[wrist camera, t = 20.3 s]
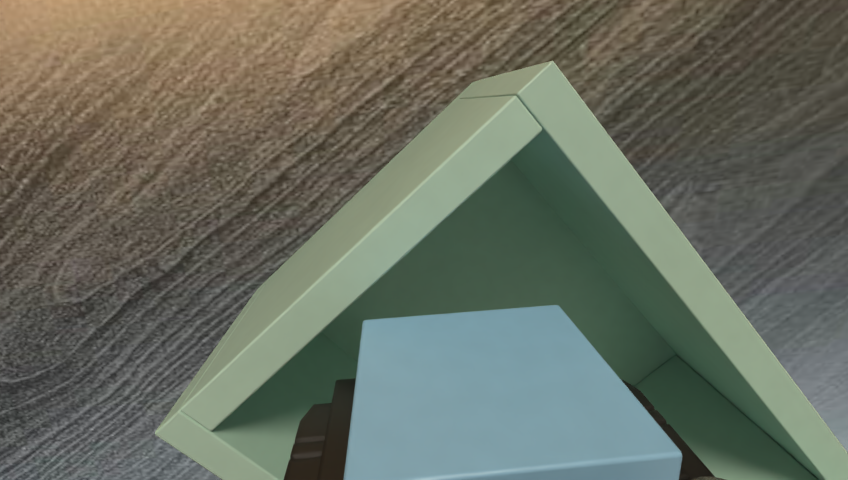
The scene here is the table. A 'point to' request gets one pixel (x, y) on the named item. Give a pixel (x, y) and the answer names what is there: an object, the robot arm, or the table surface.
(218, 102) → the table surface
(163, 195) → the table surface
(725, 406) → the green open box
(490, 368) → the blue-grey cube
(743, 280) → the table surface
